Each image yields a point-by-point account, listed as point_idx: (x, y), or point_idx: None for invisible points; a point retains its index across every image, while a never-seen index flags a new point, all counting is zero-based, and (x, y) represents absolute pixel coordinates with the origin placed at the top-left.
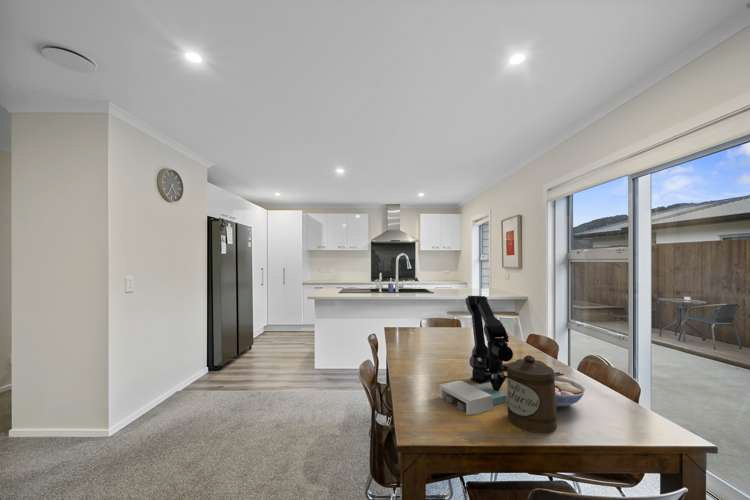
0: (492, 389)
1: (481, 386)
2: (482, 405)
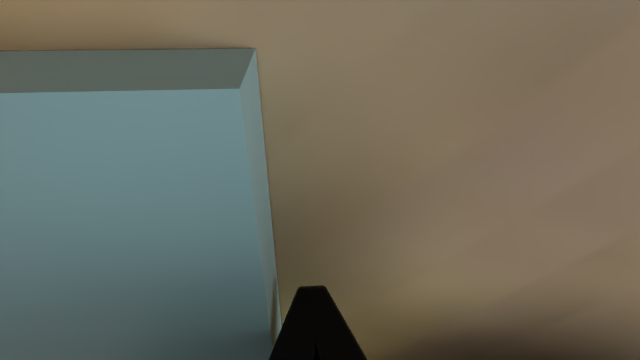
0: (255, 334)
1: (108, 161)
2: None
